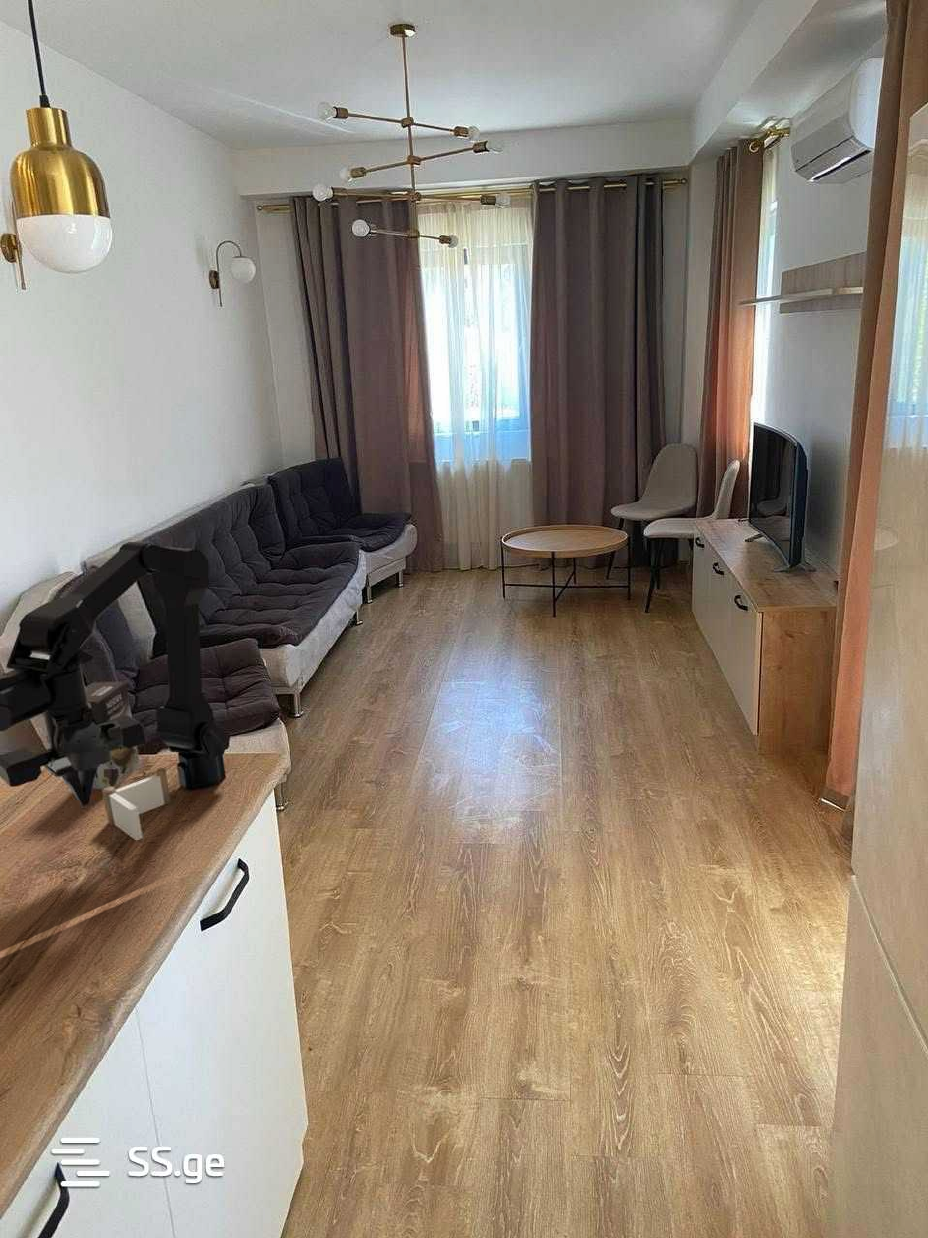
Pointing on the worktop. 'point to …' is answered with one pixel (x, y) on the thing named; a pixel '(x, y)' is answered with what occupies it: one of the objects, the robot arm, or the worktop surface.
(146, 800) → the fence post and panel
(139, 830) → the fence gate panel
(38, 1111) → the worktop surface
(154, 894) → the worktop surface
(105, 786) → the coffee box
